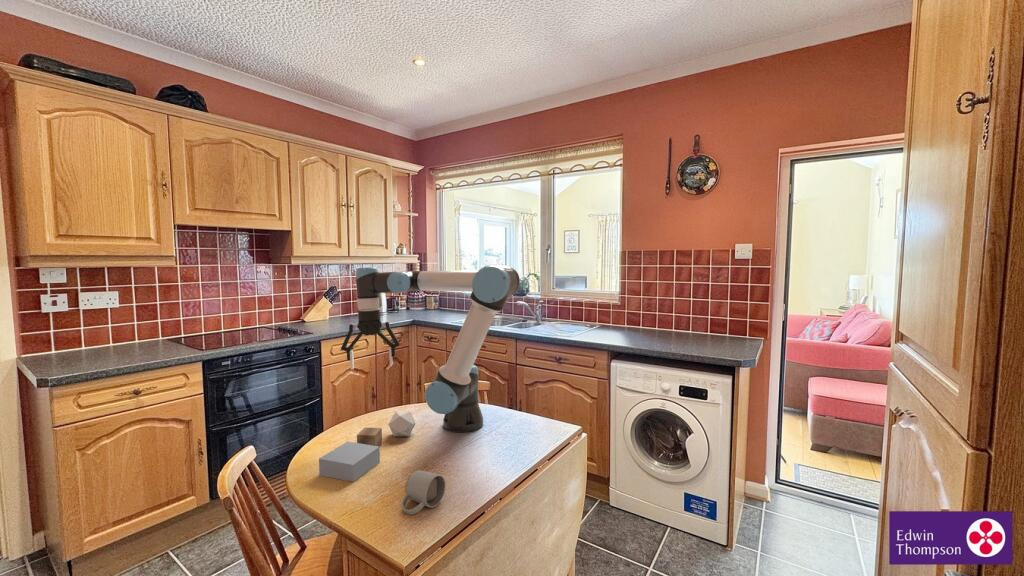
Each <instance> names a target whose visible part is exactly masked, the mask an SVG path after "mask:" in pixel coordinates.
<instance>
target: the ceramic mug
mask: <svg viewBox="0 0 1024 576" xmlns="http://www.w3.org/2000/svg"><path fill="white" fill-rule="evenodd" d="M404 489H405V496H404V498H403V499H402V501H401V508H402V511H403V513H405V514H406V515H409V516H411V515H415V514H417V513H419V512H420V511H421V510H422V509H423V508H424V507H428V508H430V509H431V508H435V507H436V506H438V505H439V504H440V502H442V499H444V496H445V492H446V480H445V477H444V476H443V475H442V474H439V473H434V472H429V471H427V470H415V471H413V472H412V473H411V474H410V475H409V476H408V478H407V480H406V483H405V488H404ZM409 500H411V501H413V502H416V503H419V504H418V505H416V506H415V507H413V508H411V509H407V507H406V505H407V503H408V501H409Z"/></svg>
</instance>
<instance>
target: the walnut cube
mask: <svg viewBox="0 0 1024 576" xmlns="http://www.w3.org/2000/svg"><path fill="white" fill-rule="evenodd" d="M382 430H383V429H382V427H363V428H362V429H361V430H360V431H359V432H358V433H357V434H356V443H360V444H366V445H372V446H378V447H380V448H381V447H382V446H383V431H382Z"/></svg>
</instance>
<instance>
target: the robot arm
mask: <svg viewBox="0 0 1024 576" xmlns="http://www.w3.org/2000/svg"><path fill="white" fill-rule="evenodd" d="M355 283H356V293H357V294H356V295H357V296H356V297H357V298H356V303H357V310H358V312H357V315H358V316H357V317H358V318H357V319H358V321H357V322H358V323H357V324H355V323H350V324H349V325H348V326H349V328H348V332H347V334H346V335H345V336H346V337H344V340H343V343H342V345H341V346H340V350H341V351H345V352H346V360H347V361H349V362H350V363H349V364H350V366H349V367H350V370H351V371H352V370H354V369H355V360H354V359H355V358H354V356H355V355H354V350H353V349H352V348H353V347H354V346H355V345H356V343H357V342H358V341H359V340H360V339H361V338H362V336H363V335H364V336H365V337H366V336H375V335H378V337H380V338H381V339H382V340H383V341H384V342H385V344H386V345H388V347H389V348H388V355H389V357H388V358H389V367H392V366H393V358H394V357H395V356H396V348H398V347H400V343H401V342H399V340H398V338H397V336H396V334H395V333H394V331H393V330H392V328H391V324H390V321H388V320H387V321H385V322H381V309H379V308H380V294H402V293H403V294H404V293H407V292H412V291H413V292H415V291H418V292H419V291H420V292H421V291H430V292H432V291H433V292H434V291H435V292H437V291H439V292H440V291H441V292H444V291H445V292H471V294H470V296H469V299H470V301H471V305H470V307H469V309H468V312H467V314H466V317H465V319H464V321H463V324H462V326H461V328H460V330H459V333H458V335H457V338H456V340H455V342H454V345H453V347H452V349H451V351H450V354H449V356H448V359H447V361H446V364H444V365H441V366H440V367H439V369H438V371H437V373H436V375H435V378H434V379H433V381H432V382H430V383H429V384H428V385H427V386H426V389H425V391H424V398H425V401H426V404H427V406H428V408H430V410H432V411H433V412H435V413H437V414H440V415H444V417H443V419H442V421H443V423H442V426H443V428H444V429H445V430H447V431H448V432H454V433H467V432H472V431H477V430H479V429H481V428H482V427H483V425H484V416H483V413H482V410H481V408H480V407H481V406H480V404H479V375H480V373H479V368H478V366H477V365H475V361H476V359H477V357H478V355H479V352H480V350H481V348H482V345H483V343H484V341H485V339H486V337H487V335H488V332H489V330H490V327H491V326H492V323H493V321H494V319H495V316H496V314H497V313H501V312H503V310H504V307H505V305H506V303H507V300H508V299H509V298H510V297H512V296H513V295H514V294H516V293H517V291H518V290H519V288H520V284H521V278H520V274H519V273H518V271H517V270H516V269H515V268H514V267H512V266H510V265H507V264H488V265H485V266H483V267H481V268H480V269H478V270H408V271H407V270H406V271H405V270H404V271H385V272H379V271H378V268H377V267H375V266H373V267H372V266H371V267H369V266H368V267H357V269H356V270H355ZM382 327H383V328H384V329H386V331H387V333H388V334H389V336H390V337H391V340H390V339H389V338H388V337H387V336H386V334H385V333H383V331H382V330H381V328H382ZM356 329H358V330H359V331H360V332H359V333H358V334H357V336H355V338H354V339H353V341H352V342H351V343H350V344H349V345H348V343H349V342H350V339H351V336H353V333H354V331H356Z"/></svg>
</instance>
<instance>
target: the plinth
mask: <svg viewBox="0 0 1024 576" xmlns="http://www.w3.org/2000/svg"><path fill="white" fill-rule="evenodd" d="M380 449H381V447H378V446H372V445H366V444H360V443H357V442H352V441H346V442H344V443H343V444H341V445H339V446H338V447H336V448H335V449H333V450H331V451H329V452H327V453H326V454H324V455H322V456H321V457H319V458H318V467H319V468H318V469H319V470H318V471H319V473H318V474H319V476H322V477H327V478H331V479H336V480H341V481H347V482H351V483H354V482H356V481H357V480H359V479H360V478H361V477H363V476H364V475H365V474H367V473H368V472H369V471H370V470H372V469H373V468H374V467H376V466H378V465H379V464H380V462H381V457H380V456H381V455H380V454H381V453H380V452H381V451H380Z"/></svg>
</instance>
